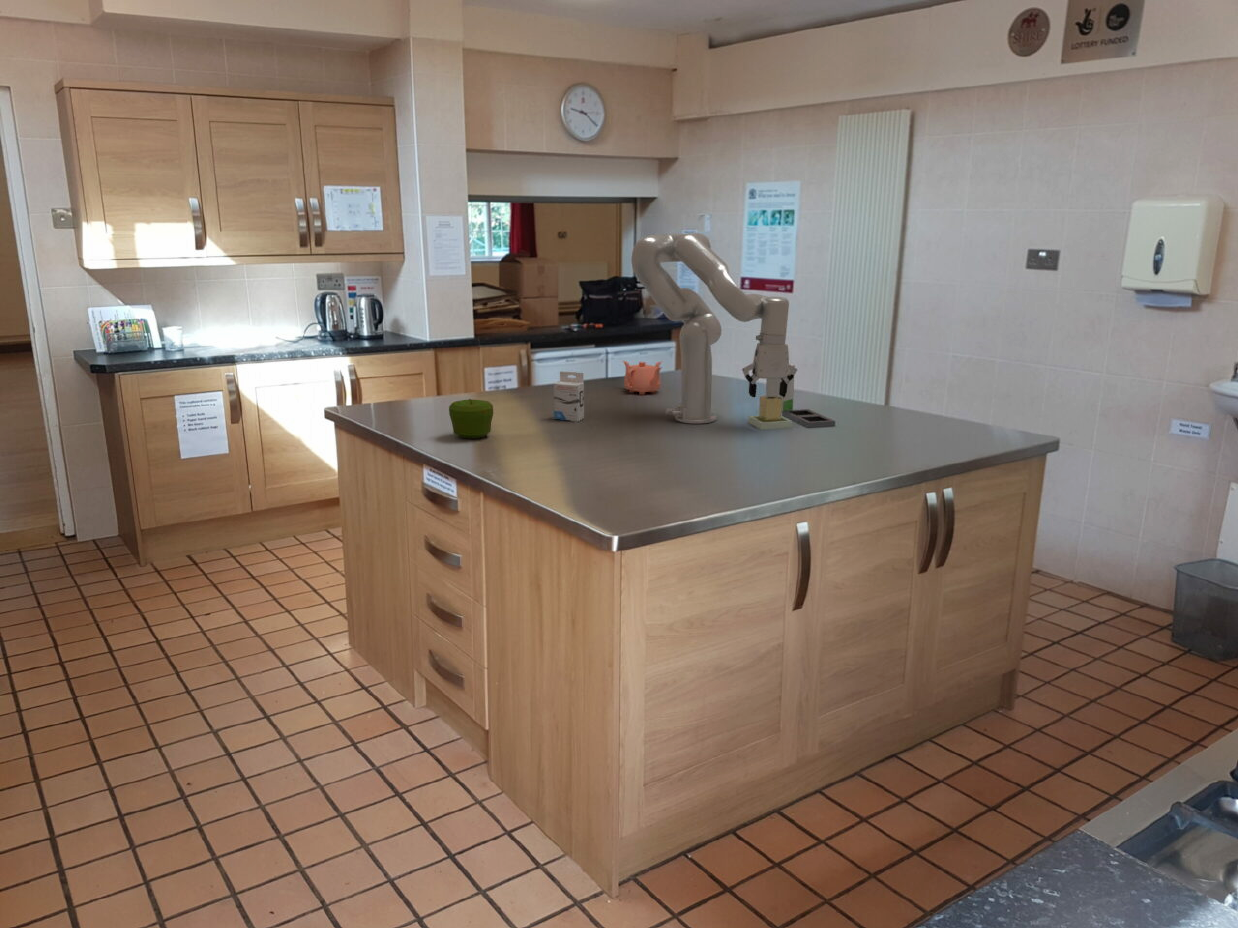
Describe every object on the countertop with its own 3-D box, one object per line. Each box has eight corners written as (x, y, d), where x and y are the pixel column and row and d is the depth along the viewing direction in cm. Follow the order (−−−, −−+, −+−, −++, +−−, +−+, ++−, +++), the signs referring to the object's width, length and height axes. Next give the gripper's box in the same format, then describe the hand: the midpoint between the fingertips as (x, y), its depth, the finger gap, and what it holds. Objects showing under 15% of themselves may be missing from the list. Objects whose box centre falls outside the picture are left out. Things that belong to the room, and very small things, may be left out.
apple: (450, 442, 261) (448, 403, 258) (450, 432, 273) (448, 395, 270) (494, 441, 263) (493, 402, 260) (493, 431, 275) (492, 393, 272)
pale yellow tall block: (765, 427, 277) (766, 399, 275) (758, 423, 282) (759, 396, 279) (780, 426, 278) (782, 398, 276) (773, 422, 283) (775, 395, 281)
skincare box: (781, 415, 295) (784, 367, 291) (763, 412, 299) (765, 365, 295) (793, 411, 302) (796, 363, 298) (775, 408, 306) (777, 361, 302)
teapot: (622, 388, 341) (622, 358, 338) (661, 388, 340) (661, 359, 338) (621, 396, 327) (621, 365, 324) (662, 396, 326) (662, 365, 324)
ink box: (553, 420, 289) (552, 373, 286) (560, 416, 294) (559, 371, 290) (578, 422, 287) (578, 375, 283) (584, 418, 291) (584, 372, 287)
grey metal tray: (807, 430, 276) (807, 422, 275) (781, 417, 293) (782, 410, 292) (834, 428, 278) (835, 421, 277) (808, 415, 295) (808, 409, 294)
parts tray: (761, 431, 274) (761, 423, 273) (748, 424, 283) (748, 416, 283) (792, 429, 277) (792, 421, 276) (778, 422, 286) (778, 414, 285)
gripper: (750, 341, 267) (745, 399, 272) (805, 341, 272) (799, 398, 277) (740, 337, 274) (735, 393, 279) (794, 337, 279) (788, 393, 284)
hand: (767, 396), depth 278 cm, fingers open, 9 cm apart
